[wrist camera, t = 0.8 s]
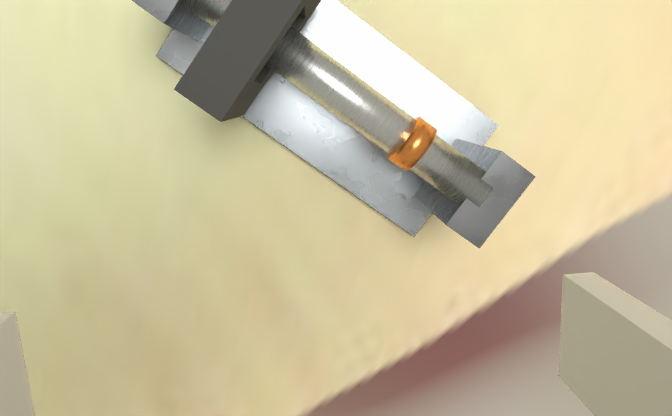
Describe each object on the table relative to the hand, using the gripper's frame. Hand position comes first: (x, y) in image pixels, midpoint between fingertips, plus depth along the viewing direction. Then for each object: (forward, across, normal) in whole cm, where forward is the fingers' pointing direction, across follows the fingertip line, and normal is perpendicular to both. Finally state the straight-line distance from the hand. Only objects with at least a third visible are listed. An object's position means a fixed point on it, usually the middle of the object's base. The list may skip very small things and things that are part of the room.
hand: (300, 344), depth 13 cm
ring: (+22, -1, +9) cm, 24 cm away
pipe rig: (+27, +3, +6) cm, 27 cm away
